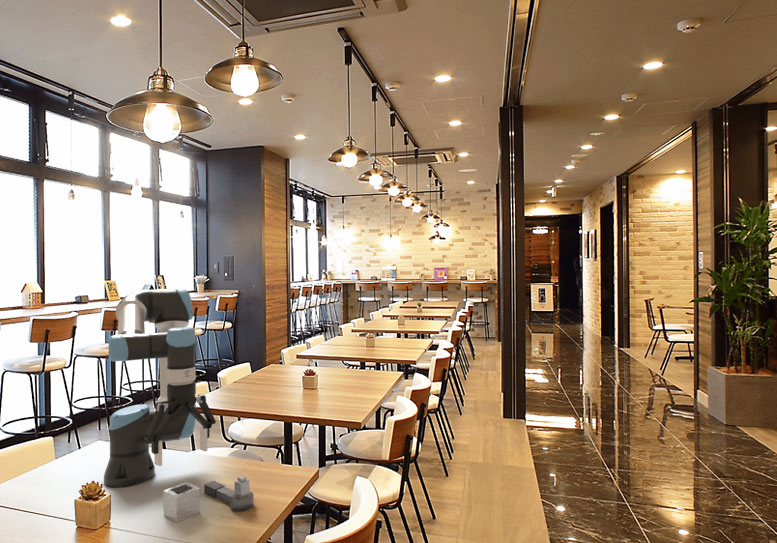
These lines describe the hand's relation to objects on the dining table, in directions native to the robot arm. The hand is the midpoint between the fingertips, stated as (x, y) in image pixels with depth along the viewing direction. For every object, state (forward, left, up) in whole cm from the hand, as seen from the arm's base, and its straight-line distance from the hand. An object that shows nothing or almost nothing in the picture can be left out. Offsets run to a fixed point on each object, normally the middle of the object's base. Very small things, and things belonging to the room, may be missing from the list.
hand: (181, 457), depth 137 cm
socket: (0, 0, -16) cm, 16 cm away
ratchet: (+3, +13, -16) cm, 21 cm away
